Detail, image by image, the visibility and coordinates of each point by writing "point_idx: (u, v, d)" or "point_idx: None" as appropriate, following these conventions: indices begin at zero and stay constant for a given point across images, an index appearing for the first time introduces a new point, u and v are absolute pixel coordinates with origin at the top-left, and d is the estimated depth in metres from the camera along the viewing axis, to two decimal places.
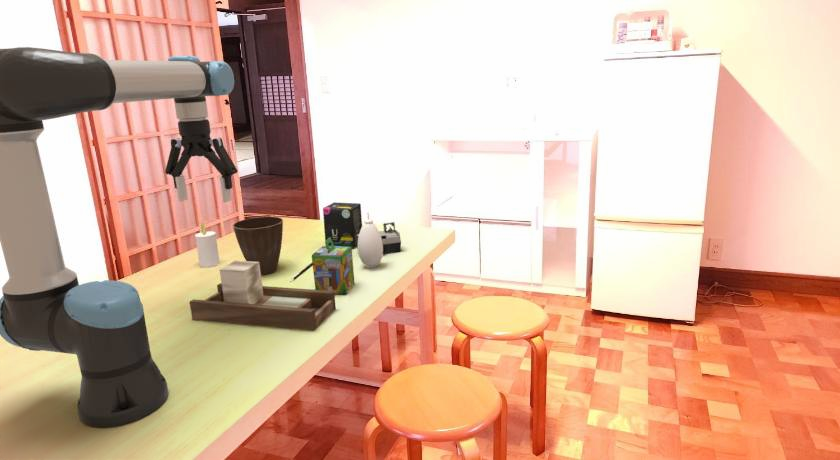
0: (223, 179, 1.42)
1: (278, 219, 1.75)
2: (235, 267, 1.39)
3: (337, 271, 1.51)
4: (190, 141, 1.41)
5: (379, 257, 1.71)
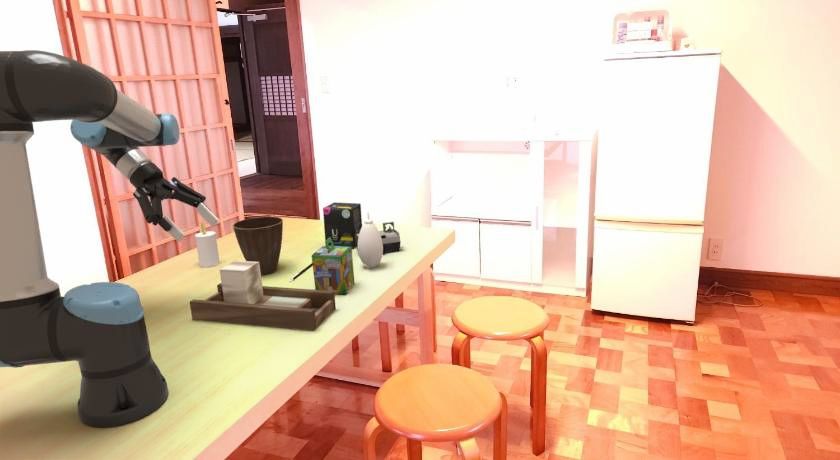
0: None
1: (278, 219, 1.75)
2: (235, 267, 1.39)
3: (337, 271, 1.51)
4: (155, 184, 1.40)
5: (379, 257, 1.71)
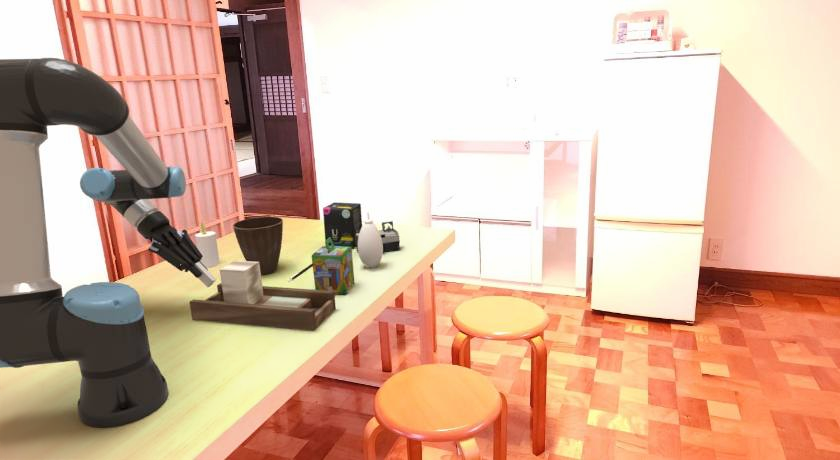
0: None
1: (278, 219, 1.75)
2: (235, 267, 1.39)
3: (337, 271, 1.51)
4: (156, 229, 1.42)
5: (379, 257, 1.71)
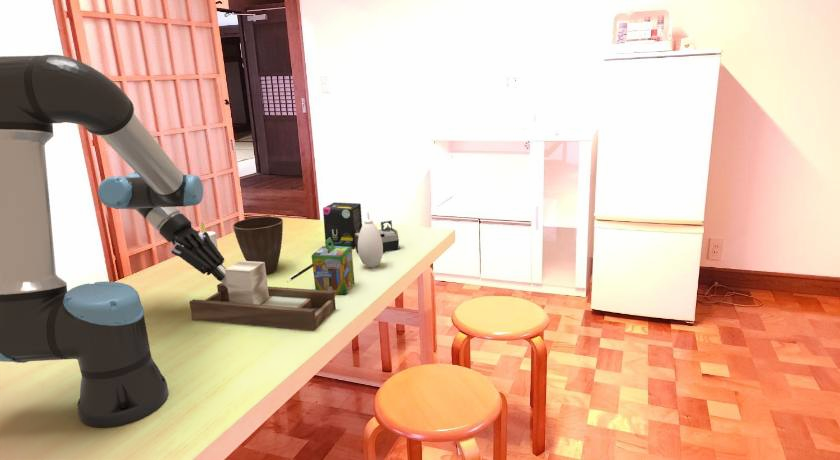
0: None
1: (278, 219, 1.75)
2: (240, 267, 1.39)
3: (337, 271, 1.51)
4: (179, 232, 1.41)
5: (379, 257, 1.71)
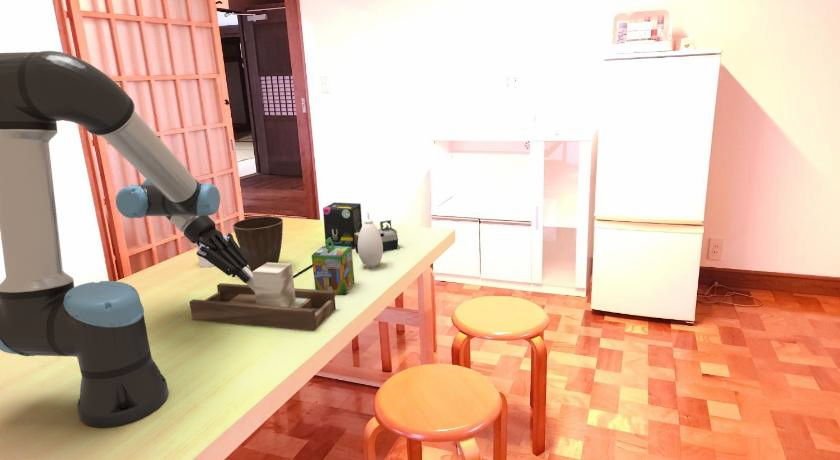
0: None
1: (278, 219, 1.75)
2: (267, 269, 1.36)
3: (337, 271, 1.51)
4: (203, 233, 1.39)
5: (379, 257, 1.71)
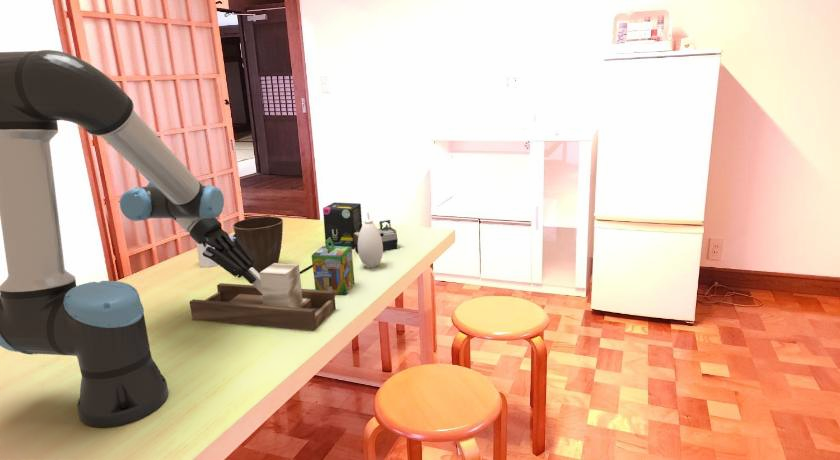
0: None
1: (278, 219, 1.75)
2: (275, 270, 1.36)
3: (337, 271, 1.51)
4: (209, 234, 1.38)
5: (379, 257, 1.71)
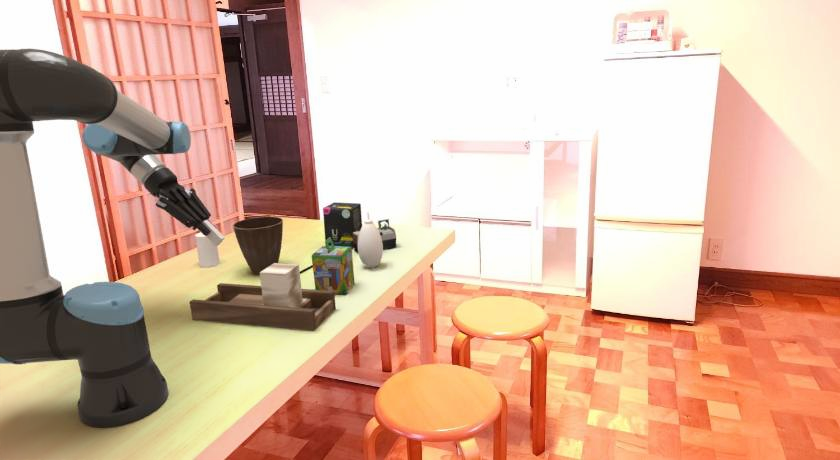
0: None
1: (278, 219, 1.75)
2: (275, 270, 1.36)
3: (337, 271, 1.51)
4: (164, 186, 1.38)
5: (379, 257, 1.71)
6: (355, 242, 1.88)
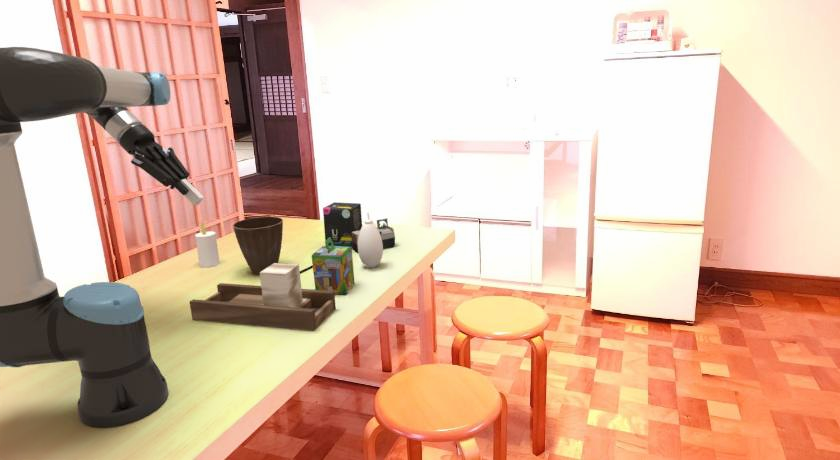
0: None
1: (278, 219, 1.75)
2: (275, 270, 1.36)
3: (337, 271, 1.51)
4: (140, 143, 1.34)
5: (379, 257, 1.71)
6: (354, 241, 1.88)
